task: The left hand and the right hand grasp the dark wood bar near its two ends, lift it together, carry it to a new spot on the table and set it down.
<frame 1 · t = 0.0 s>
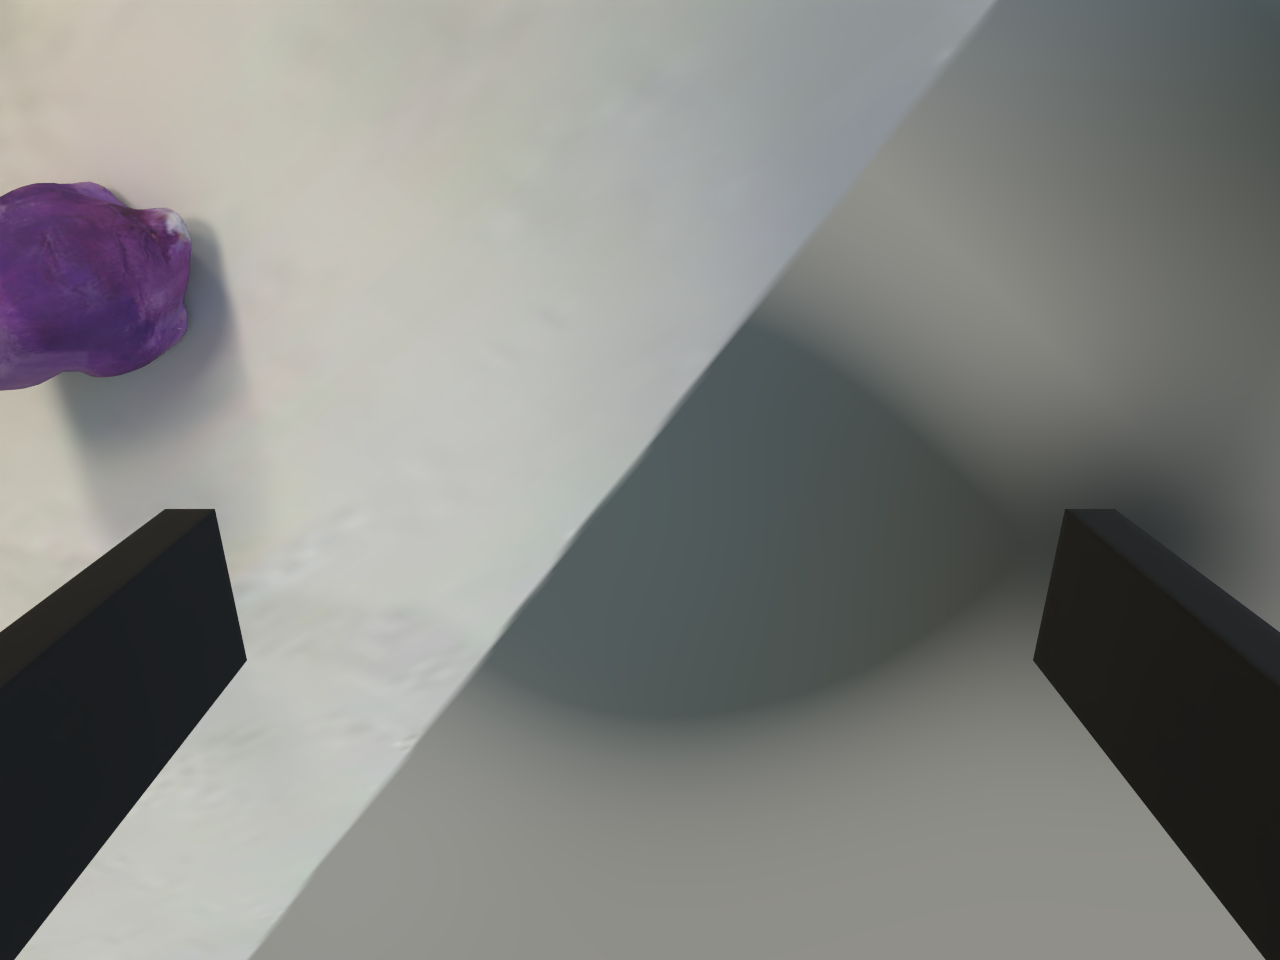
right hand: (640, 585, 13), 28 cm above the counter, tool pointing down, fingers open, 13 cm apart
figurine: (108, 292, 39), on the counter
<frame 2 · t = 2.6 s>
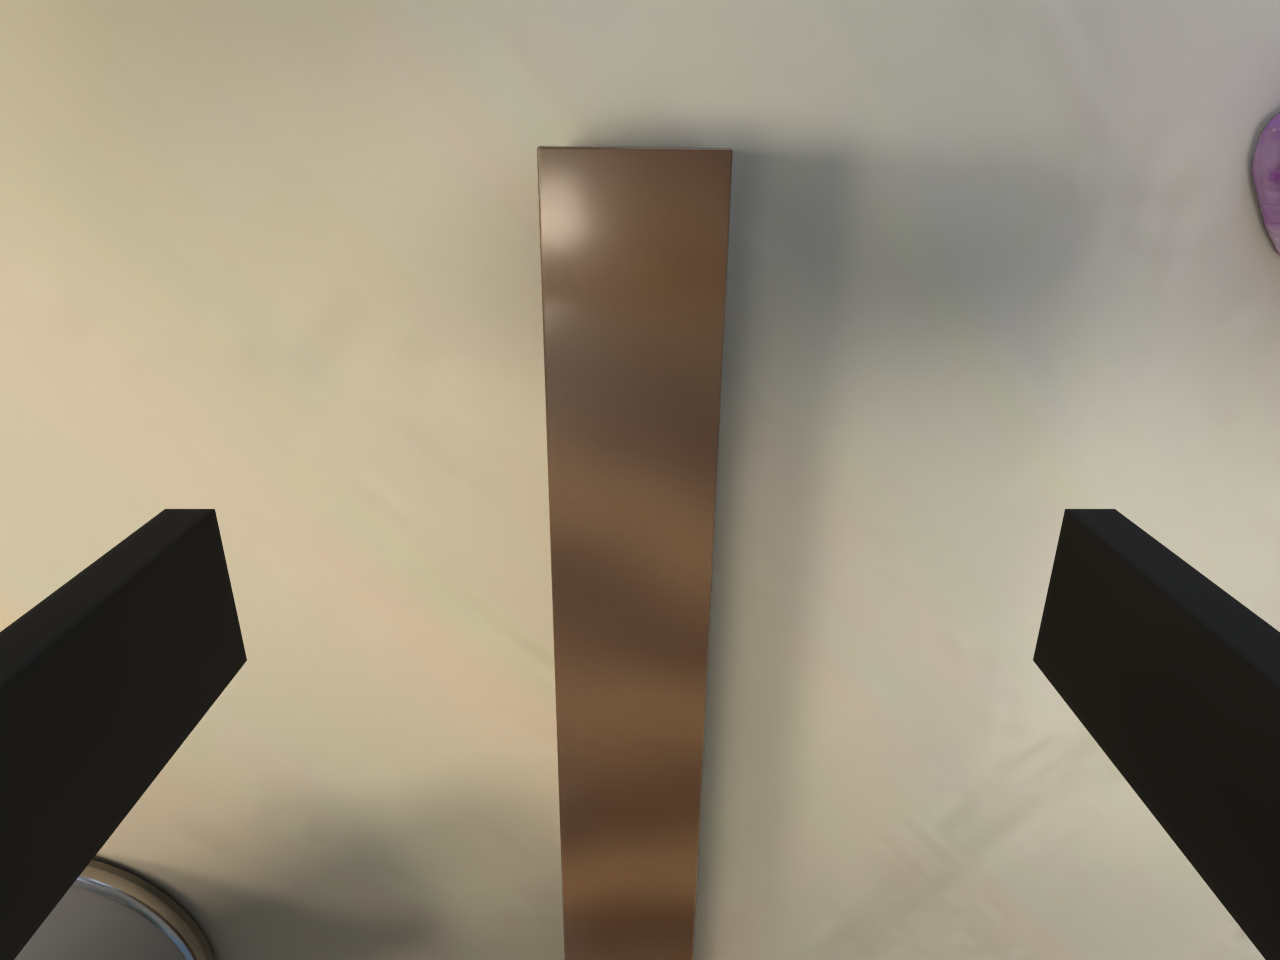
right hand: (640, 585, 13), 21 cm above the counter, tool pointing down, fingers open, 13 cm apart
bar: (630, 908, 44), on the counter
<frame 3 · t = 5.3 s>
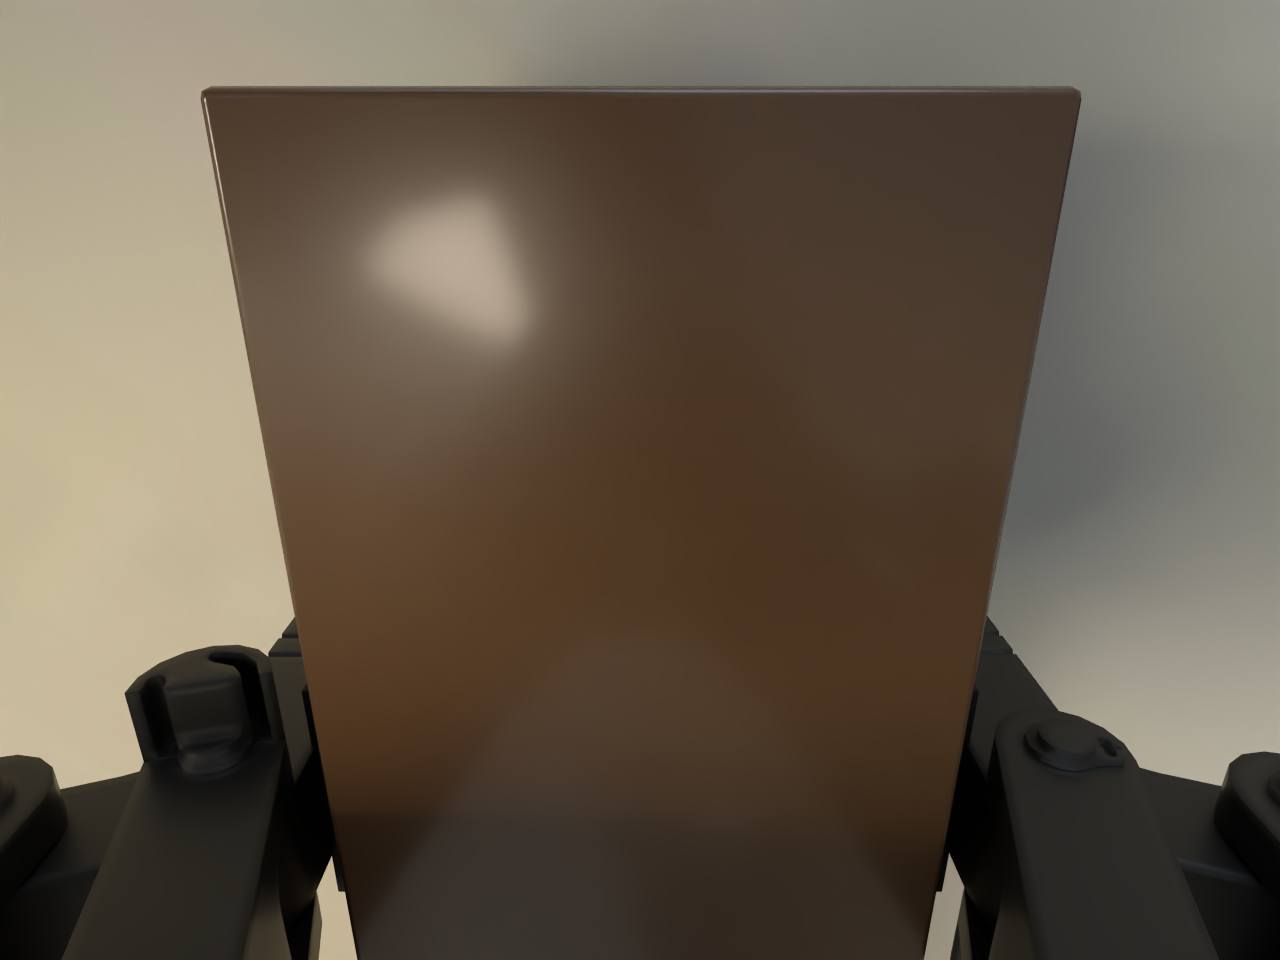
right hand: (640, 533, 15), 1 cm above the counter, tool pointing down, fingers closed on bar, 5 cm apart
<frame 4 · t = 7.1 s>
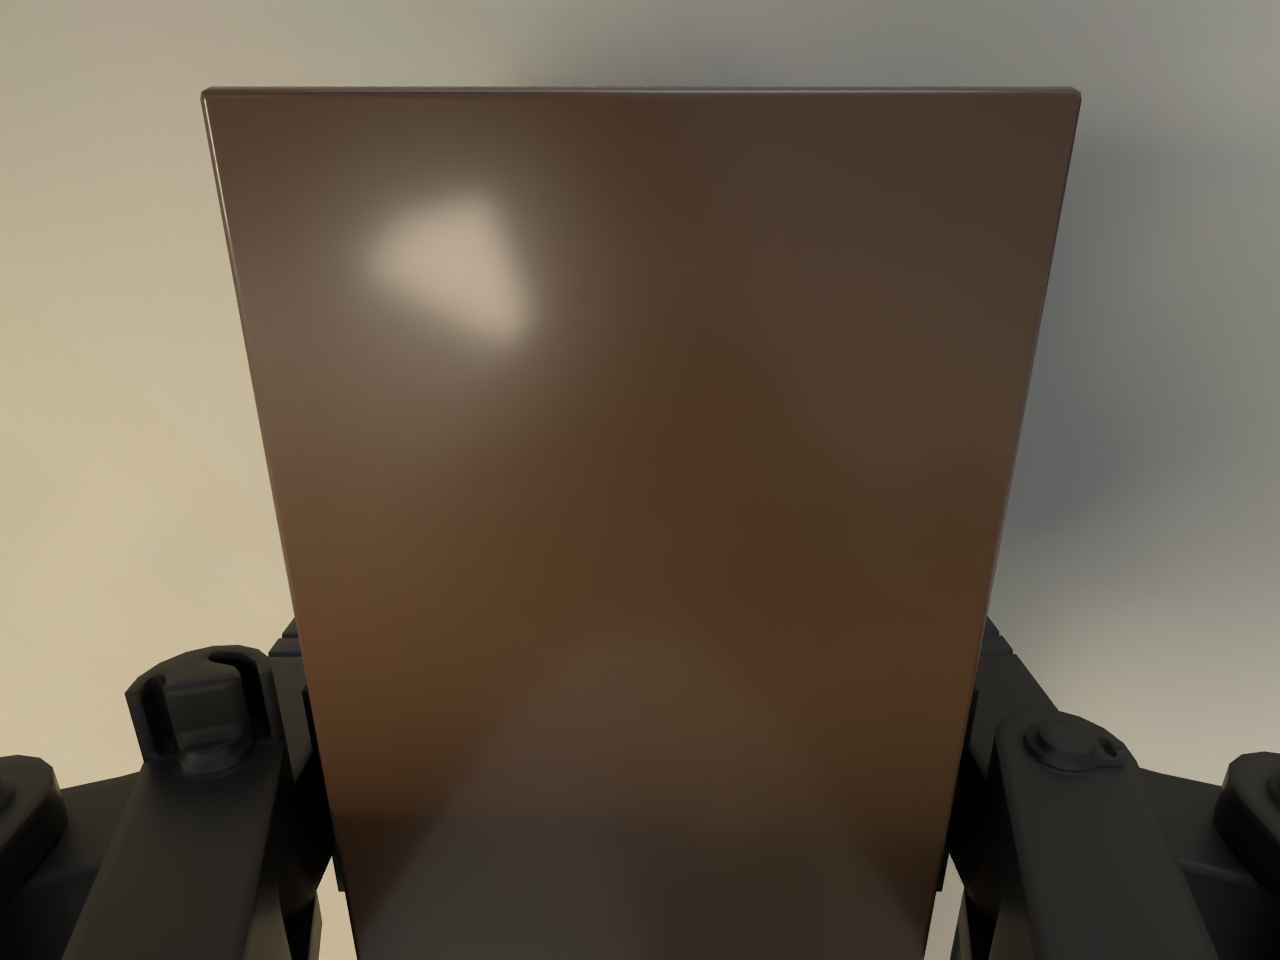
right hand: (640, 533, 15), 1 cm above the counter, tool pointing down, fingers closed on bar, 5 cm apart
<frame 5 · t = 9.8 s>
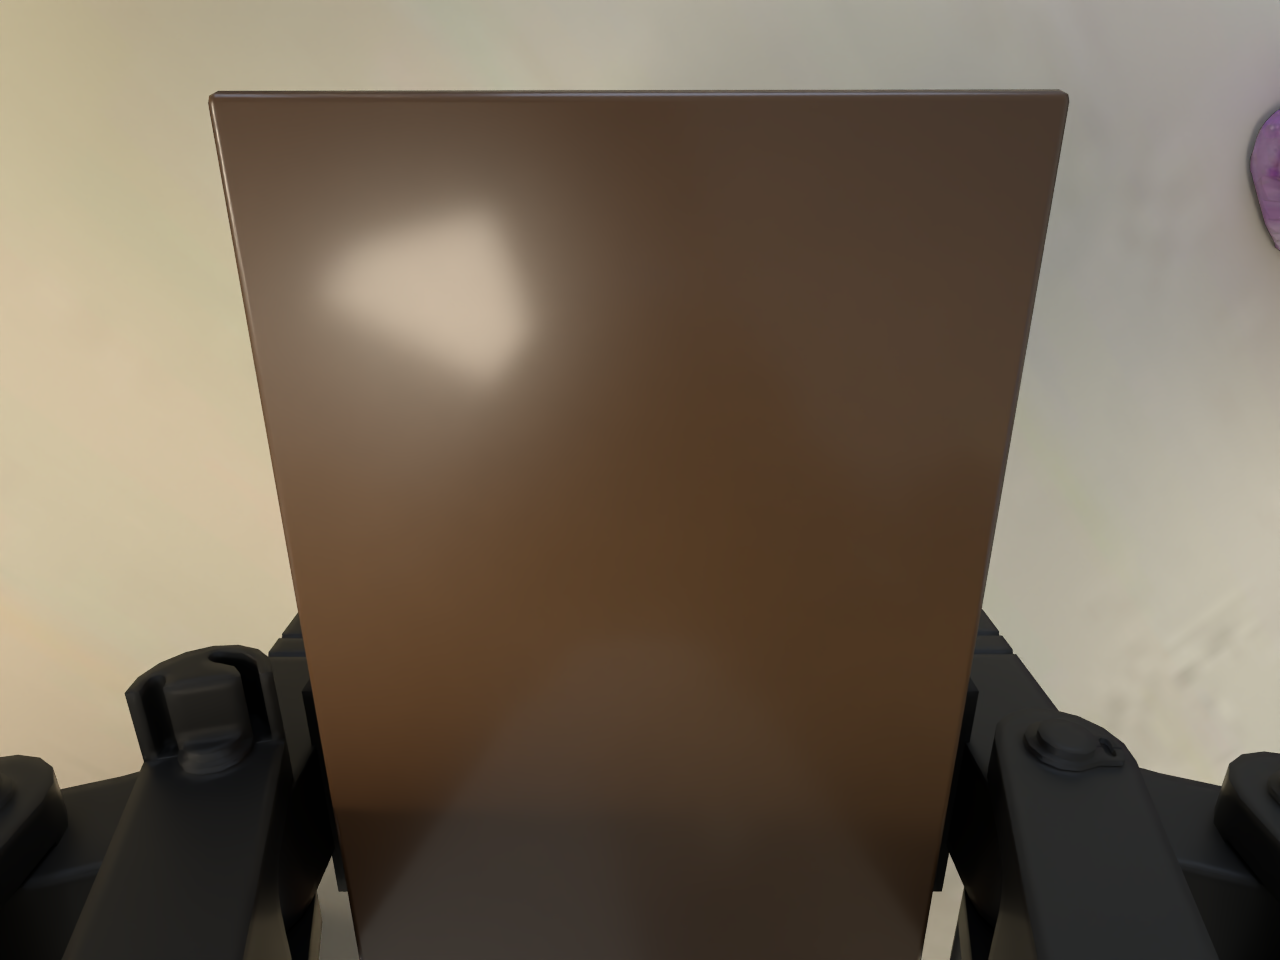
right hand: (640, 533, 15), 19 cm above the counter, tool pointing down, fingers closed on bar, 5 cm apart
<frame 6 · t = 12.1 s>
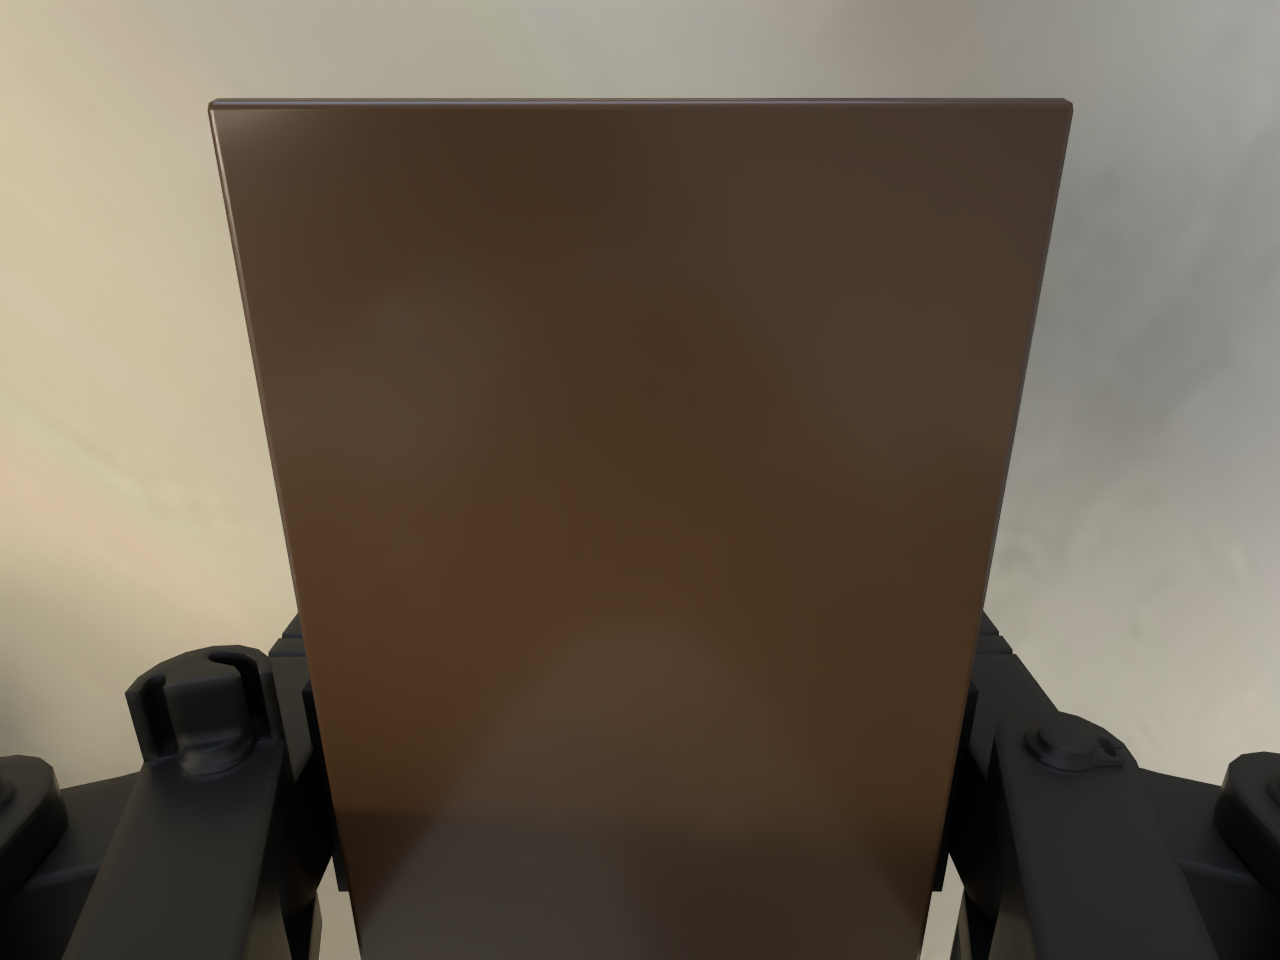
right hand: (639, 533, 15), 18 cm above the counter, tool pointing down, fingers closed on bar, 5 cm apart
when the left hand's fingers open (2 cm above the counter, at t = 14.3 s): bar drops 1 cm, on the counter.
when the right hand's fingers open (2 cm above the counter, at t = 14.3 s): bar drops 1 cm, on the counter.
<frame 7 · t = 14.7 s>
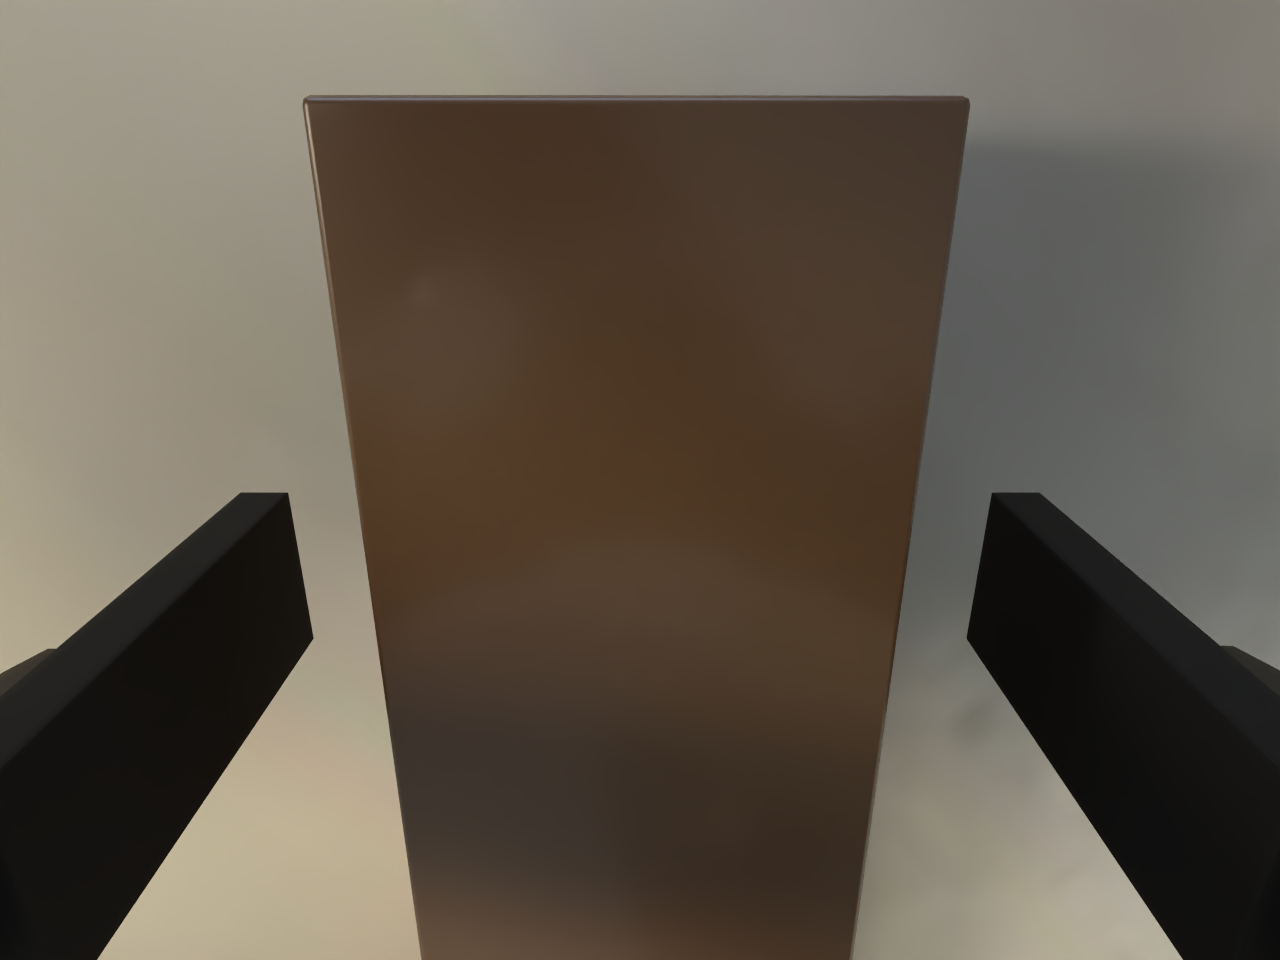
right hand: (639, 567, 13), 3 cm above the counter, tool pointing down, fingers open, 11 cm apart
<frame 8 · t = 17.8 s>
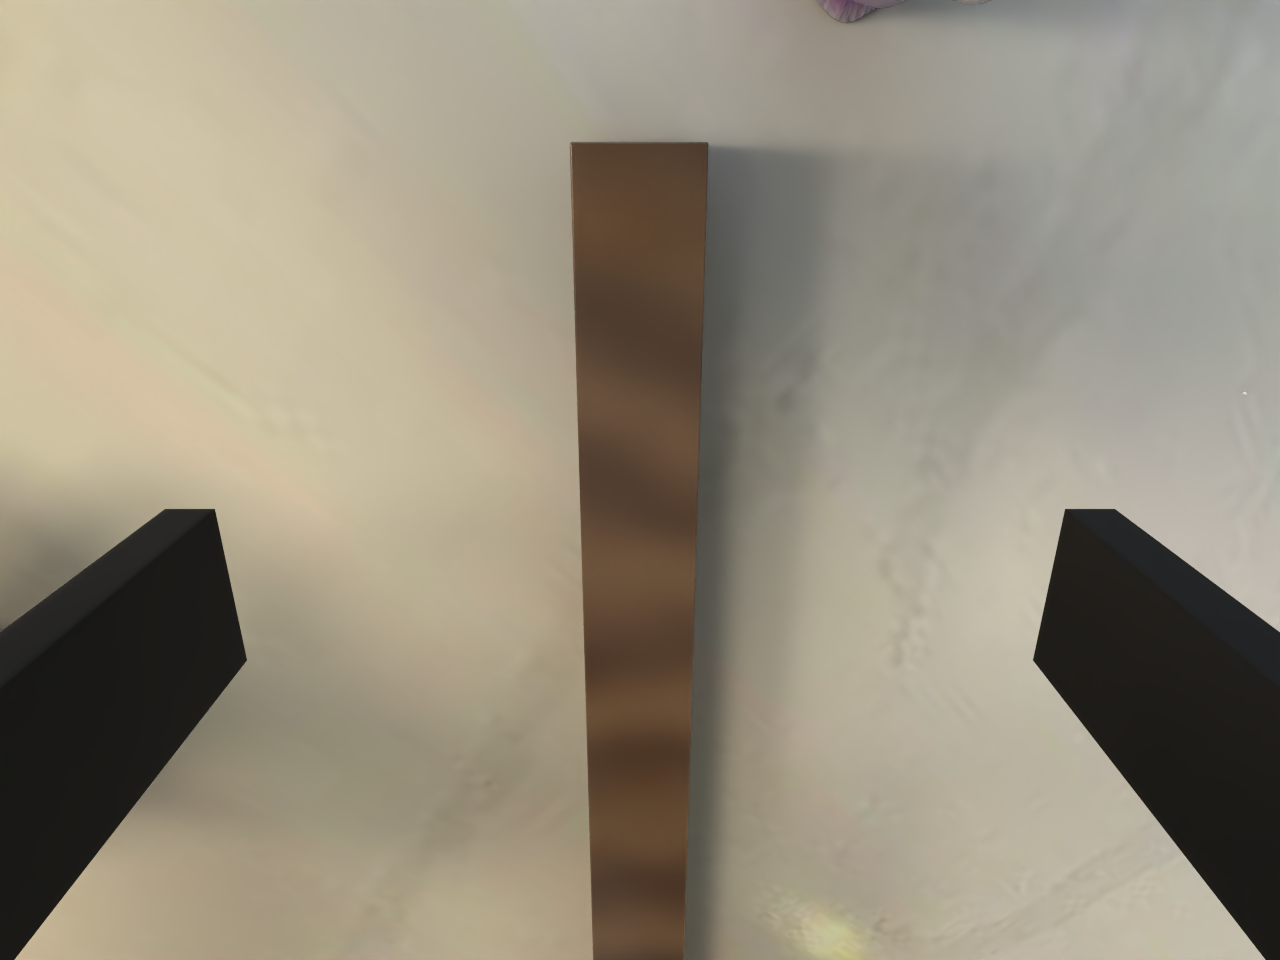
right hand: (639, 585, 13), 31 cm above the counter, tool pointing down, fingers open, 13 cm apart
bar: (639, 775, 53), on the counter
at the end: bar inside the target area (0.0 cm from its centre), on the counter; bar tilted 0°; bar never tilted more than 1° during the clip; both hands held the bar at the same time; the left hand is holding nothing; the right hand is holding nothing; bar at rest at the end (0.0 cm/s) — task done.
